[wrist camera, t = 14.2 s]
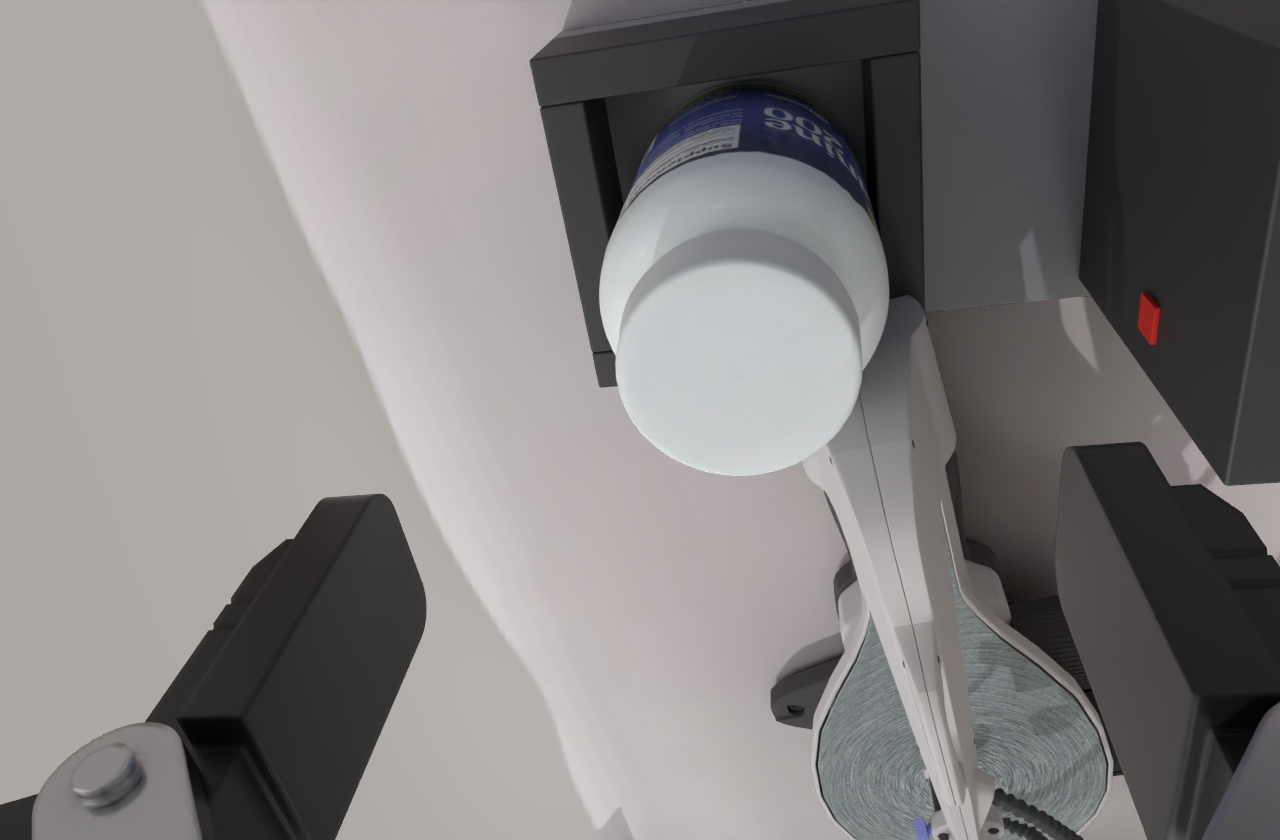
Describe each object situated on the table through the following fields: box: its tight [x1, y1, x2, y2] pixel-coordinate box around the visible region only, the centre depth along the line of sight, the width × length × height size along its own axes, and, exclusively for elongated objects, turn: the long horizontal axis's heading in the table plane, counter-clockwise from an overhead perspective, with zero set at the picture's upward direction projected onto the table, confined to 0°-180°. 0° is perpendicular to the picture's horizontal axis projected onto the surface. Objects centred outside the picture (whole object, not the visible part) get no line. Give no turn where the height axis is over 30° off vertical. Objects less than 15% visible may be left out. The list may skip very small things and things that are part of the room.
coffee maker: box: [530, 0, 1280, 486], centre depth 19 cm, size 8×15×10 cm, turn 100°
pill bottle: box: [599, 80, 889, 476], centre depth 19 cm, size 5×5×10 cm
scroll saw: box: [771, 295, 1124, 840], centre depth 25 cm, size 20×11×12 cm
